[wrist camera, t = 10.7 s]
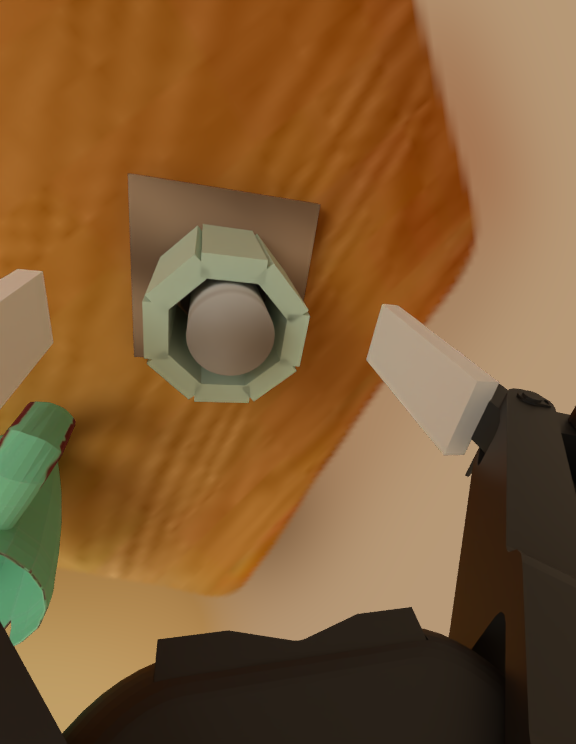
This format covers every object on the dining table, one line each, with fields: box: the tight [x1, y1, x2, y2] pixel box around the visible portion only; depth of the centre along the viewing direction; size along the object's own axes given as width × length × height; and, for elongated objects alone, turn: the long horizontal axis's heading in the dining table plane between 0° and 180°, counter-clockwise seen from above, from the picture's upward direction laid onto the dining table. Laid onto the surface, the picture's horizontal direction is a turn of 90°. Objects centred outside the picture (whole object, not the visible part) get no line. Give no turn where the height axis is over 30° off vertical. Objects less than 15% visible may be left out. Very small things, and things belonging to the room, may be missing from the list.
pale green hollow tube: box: [142, 224, 310, 403], centre depth 19 cm, size 7×7×6 cm
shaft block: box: [128, 174, 320, 376], centre depth 19 cm, size 10×10×9 cm
